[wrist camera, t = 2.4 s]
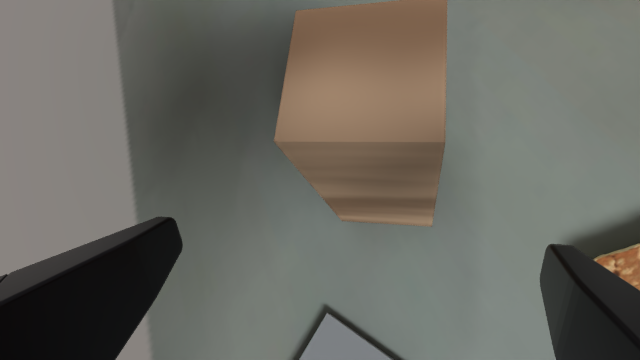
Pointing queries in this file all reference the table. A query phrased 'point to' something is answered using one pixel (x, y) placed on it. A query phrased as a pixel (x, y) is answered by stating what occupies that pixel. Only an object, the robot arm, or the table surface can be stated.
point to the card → (340, 343)
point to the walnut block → (368, 107)
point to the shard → (623, 264)
